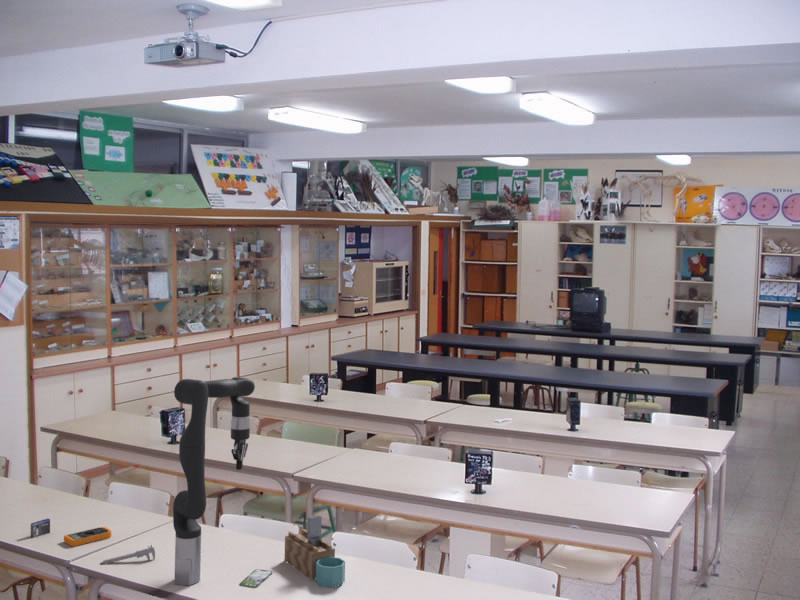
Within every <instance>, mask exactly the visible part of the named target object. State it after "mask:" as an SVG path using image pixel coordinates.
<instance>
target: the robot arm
mask: <svg viewBox="0 0 800 600" xmlns="http://www.w3.org/2000/svg"><path fill="white" fill-rule="evenodd" d="M255 388H256V385H255V382H254V381H253V379H251V378H247V377H239V376H237V377H236V376H235V377H232V378H225V379H216V380H215V379H214V380H201V379H200V380H199V379H192V378H191V379H190V378H184V379H180V380H179V381H178V382H176V385H175V387H174V391H173V395H174V398H175V399H176V401H177V402H178V403H180V404H184V405H190V406H191V414H190V415H191V416H190V420H189V422H188V423H187V426H185V427H186V428H185V429H184V431H183V432H182V434H181V436H180V437H179V438H180V439H179V443H178V444H179V448H178V452H179V453H178V458H179V463H180V466H181V468H182V471H183V473H184V476H185V479H186V484H187V490H181V491H180V492H178V493H177V494H176V496H175V498H174V501H173V505H172V520H173V521H172V522H173V523H172V524H173V529H174V532H175V538H174V539H175V542H174V543H175V544H174V551H175V552H174V585H180V586H191V585H193V584H197V583H199V582H200V581H201V561H202V560H201V559H202V557H201V556H202V555H201V553H202V550H201V549H202V527H201V525H200V524H199V523H198V522H197V520H200V518H202V517H203V516H204V514H205V512H206V509H207V493H206V492H207V491H206V483H205V482H206V481H205V475H206V474H205V466H206V465H205V459H206V420H207V411H208V403H209V398H212V399H213V398H214V399H215V398H216V399H219V398H220V399H222V398H230V404H231V420H230V439H231V440H234V443H233V448H232V449H231V454H232V457H233V460H235V464H236V465H235V468H236V470H238V471H239V470H242V469H243V466H244V465H243V462H244V459H245V458H246V455H247V451H248V446H249V443H247V442H246V441H247V440H248V439H250V437H251V436H250V434H251V433H250V432H251V431H250V430H251V422H250V421H251V419H250V411H251V410H250V408H251V407H250V406H251V404H250V402H249V401H247V400H246V399H244V398H243V397H247V396H250V395H252V394H253V393H254V392H255Z"/></svg>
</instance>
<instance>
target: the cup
mask: <svg viewBox="0 0 800 600" xmlns="http://www.w3.org/2000/svg"><path fill="white" fill-rule="evenodd" d="M345 581H346V560H344V559H342V558H340V557H336V556H335V557H326V558H321V559H319V560H318V561H317V562H316V579H315V584H317V585H318V584H319V585H318V586H320V587H321V586H324V587H323V588H331V587H333V588H336V587H335V586H337V587H339V586H338V585H341V586H343V585H344V583H345ZM343 582H344V583H343ZM342 584H343V585H342Z"/></svg>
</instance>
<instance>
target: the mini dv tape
mask: <svg viewBox="0 0 800 600" xmlns="http://www.w3.org/2000/svg"><path fill="white" fill-rule="evenodd" d="M50 533H51V518H45V519H41V520H38V521H34V522H31V523H30V538H32V539H33V538H34V539H35V538H38V537H41V536H44V535H47V534H50Z"/></svg>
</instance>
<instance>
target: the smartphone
mask: <svg viewBox="0 0 800 600" xmlns="http://www.w3.org/2000/svg"><path fill="white" fill-rule="evenodd" d="M270 575H271V576H272V575H273V570H267V569H261V568H260V569H259V568H257V569H254V570H253V571H252V572H251V573H249V575H248V576H247V577H245V578H244V579H243V580H242V581H241V582H239V585H238V586H240V587H244V586H245V587H247V588H250V589H251V588H253V589H256V588H259V587H260V586H261V585H262V584H263V583H264V582H265V581H266V580H267V579H268V578H270V577H269V576H270ZM261 583H262V584H261Z"/></svg>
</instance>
